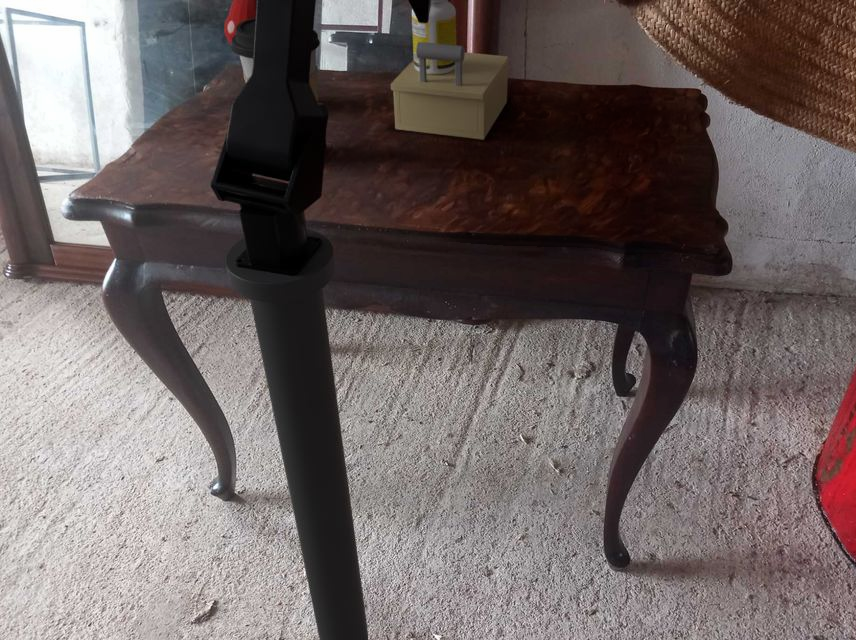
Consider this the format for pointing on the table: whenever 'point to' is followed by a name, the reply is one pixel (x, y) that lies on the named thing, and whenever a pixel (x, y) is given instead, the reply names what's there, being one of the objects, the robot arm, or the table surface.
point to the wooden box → (451, 111)
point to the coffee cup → (245, 49)
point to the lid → (463, 82)
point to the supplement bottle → (436, 34)
